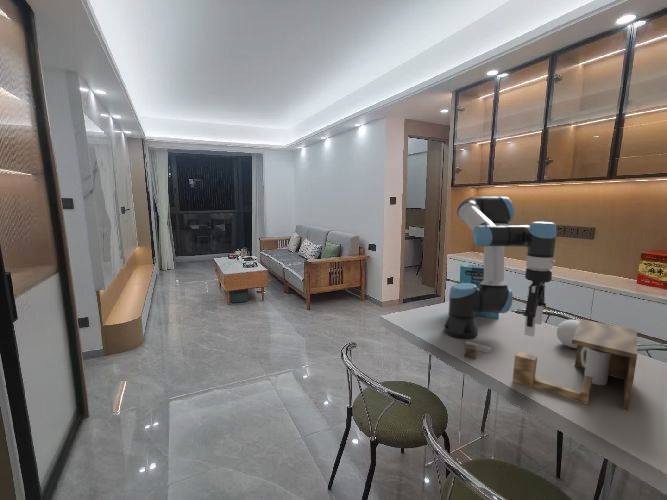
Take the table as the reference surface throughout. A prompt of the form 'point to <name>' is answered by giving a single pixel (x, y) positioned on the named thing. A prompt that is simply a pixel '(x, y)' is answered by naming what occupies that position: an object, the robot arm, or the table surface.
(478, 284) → the game box
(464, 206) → the robot arm
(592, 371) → the mug
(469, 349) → the walnut cube
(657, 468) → the table surface
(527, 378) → the wooden u-shaped rack
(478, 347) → the grey stick
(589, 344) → the shelf
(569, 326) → the decorative ball
